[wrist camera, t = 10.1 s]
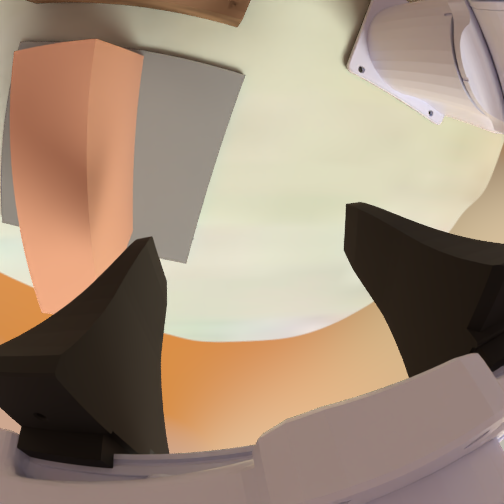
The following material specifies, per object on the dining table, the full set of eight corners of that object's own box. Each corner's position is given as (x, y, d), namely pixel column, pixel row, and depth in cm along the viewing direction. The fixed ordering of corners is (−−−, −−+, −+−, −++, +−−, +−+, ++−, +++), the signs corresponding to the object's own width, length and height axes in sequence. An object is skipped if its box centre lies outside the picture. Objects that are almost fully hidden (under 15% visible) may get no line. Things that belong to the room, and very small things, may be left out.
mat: (244, 75, 17) (245, 75, 16) (186, 259, 23) (186, 263, 23) (23, 42, 12) (20, 41, 12) (5, 219, 18) (2, 222, 18)
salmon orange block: (143, 56, 15) (95, 38, 7) (132, 230, 21) (103, 320, 13) (91, 57, 14) (14, 51, 6) (88, 228, 20) (41, 312, 12)
